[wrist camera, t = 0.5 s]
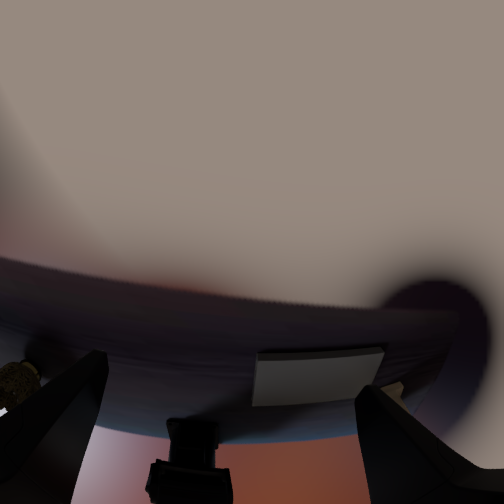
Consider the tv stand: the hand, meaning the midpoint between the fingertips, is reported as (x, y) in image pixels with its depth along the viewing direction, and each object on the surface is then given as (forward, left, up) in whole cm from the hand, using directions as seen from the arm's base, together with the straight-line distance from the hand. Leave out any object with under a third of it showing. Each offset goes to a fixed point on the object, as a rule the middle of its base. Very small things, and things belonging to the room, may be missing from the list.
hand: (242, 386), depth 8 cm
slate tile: (-15, -10, -15) cm, 23 cm away
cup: (-18, +26, -16) cm, 35 cm away
